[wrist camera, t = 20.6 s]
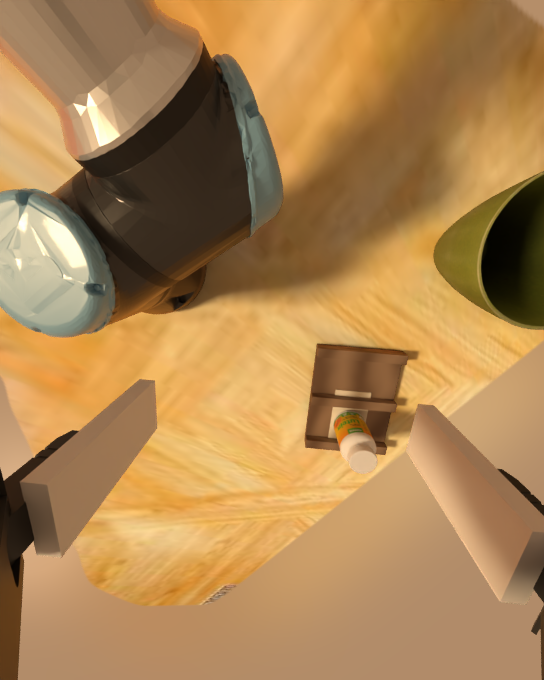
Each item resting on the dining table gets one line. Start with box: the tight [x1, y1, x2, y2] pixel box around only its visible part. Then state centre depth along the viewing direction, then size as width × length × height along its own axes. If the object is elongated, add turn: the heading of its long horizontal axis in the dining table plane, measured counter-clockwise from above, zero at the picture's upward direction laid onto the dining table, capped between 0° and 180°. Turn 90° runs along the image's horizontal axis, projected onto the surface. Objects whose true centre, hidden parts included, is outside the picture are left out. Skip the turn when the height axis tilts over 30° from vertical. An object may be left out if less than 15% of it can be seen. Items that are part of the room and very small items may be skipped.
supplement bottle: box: [333, 410, 377, 474], centre depth 44 cm, size 5×5×10 cm
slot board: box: [305, 344, 408, 455], centre depth 48 cm, size 14×20×2 cm
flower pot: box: [434, 171, 544, 330], centre depth 33 cm, size 15×15×16 cm
